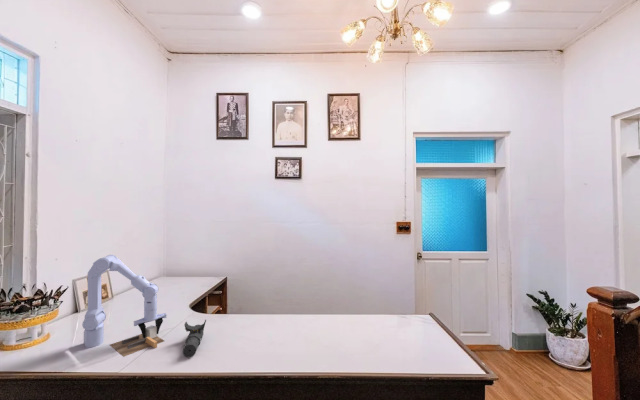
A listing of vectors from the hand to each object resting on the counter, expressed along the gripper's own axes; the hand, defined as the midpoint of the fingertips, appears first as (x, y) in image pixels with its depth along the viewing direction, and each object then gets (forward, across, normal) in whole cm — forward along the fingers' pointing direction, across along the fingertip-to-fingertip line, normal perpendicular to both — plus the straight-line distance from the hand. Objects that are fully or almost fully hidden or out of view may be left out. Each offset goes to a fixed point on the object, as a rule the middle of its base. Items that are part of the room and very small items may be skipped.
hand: (150, 335), depth 146 cm
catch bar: (+1, +2, +9) cm, 9 cm away
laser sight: (+2, -13, +22) cm, 26 cm away
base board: (+2, +6, +2) cm, 7 cm away
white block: (+1, 0, 0) cm, 1 cm away
